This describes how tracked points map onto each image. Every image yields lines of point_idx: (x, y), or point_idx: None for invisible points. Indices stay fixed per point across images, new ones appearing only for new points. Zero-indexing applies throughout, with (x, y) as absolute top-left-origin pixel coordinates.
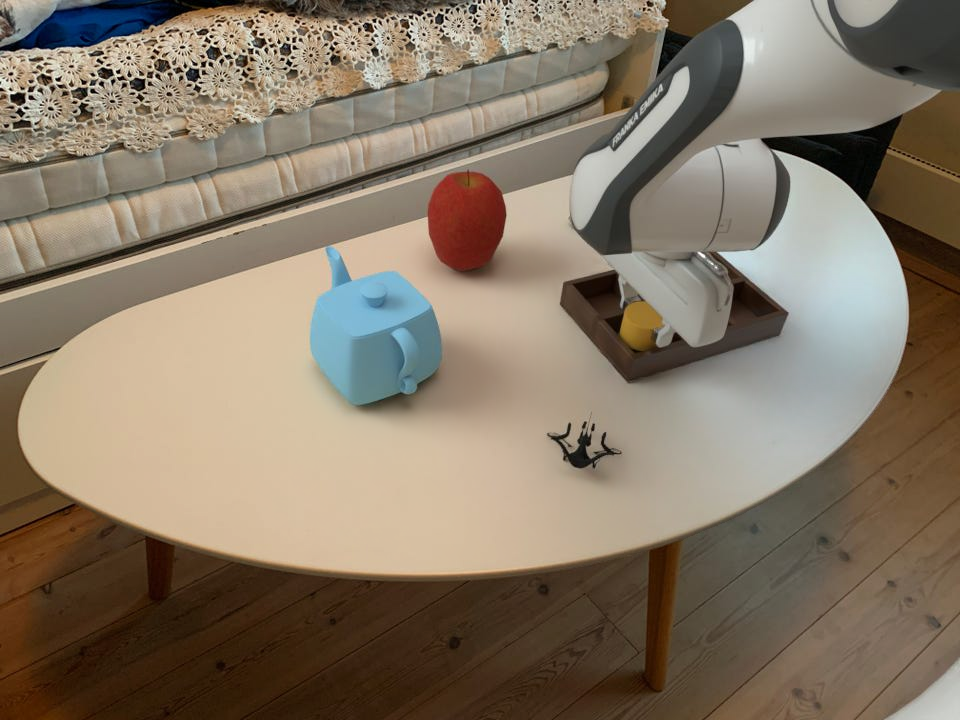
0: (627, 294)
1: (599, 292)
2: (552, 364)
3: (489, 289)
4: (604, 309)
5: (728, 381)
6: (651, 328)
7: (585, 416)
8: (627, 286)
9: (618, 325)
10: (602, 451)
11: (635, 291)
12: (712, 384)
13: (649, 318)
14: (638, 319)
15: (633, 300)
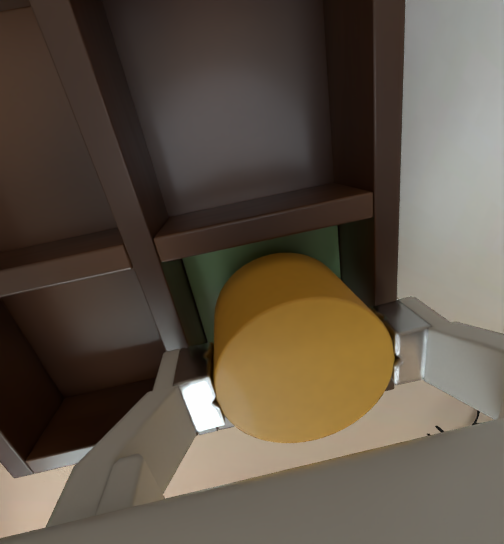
0: (183, 439)
1: (6, 326)
2: (264, 443)
3: (13, 509)
4: (90, 323)
5: (455, 67)
6: (386, 386)
7: (400, 419)
8: (158, 474)
9: (200, 341)
10: (477, 416)
11: (166, 411)
12: (442, 131)
13: (331, 377)
14: (325, 413)
15: (208, 405)
